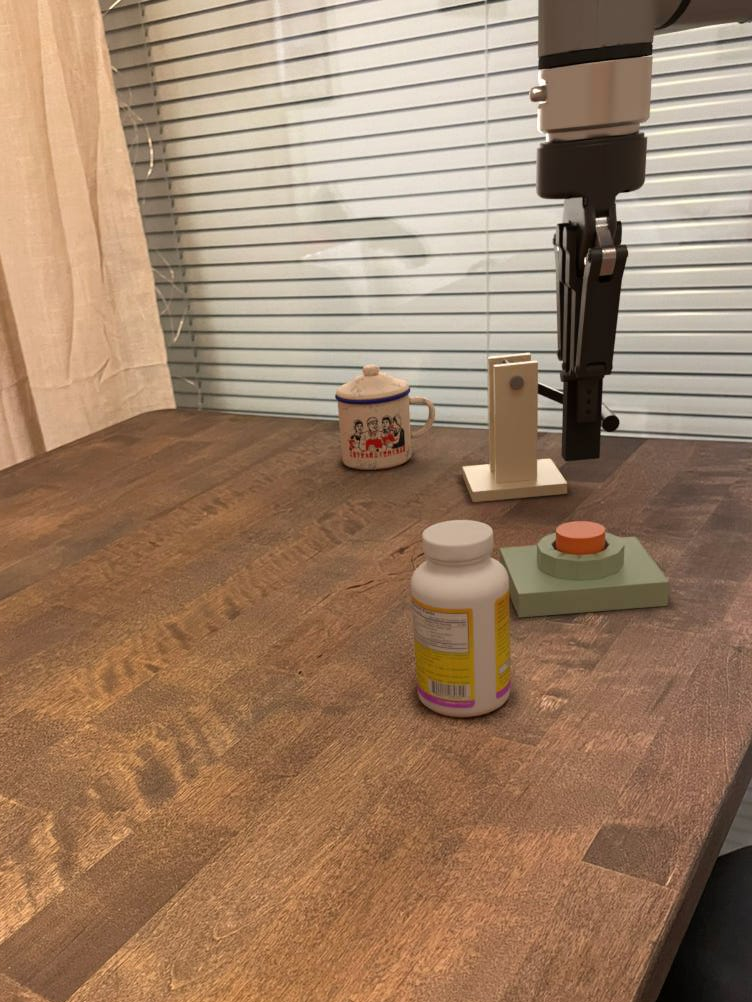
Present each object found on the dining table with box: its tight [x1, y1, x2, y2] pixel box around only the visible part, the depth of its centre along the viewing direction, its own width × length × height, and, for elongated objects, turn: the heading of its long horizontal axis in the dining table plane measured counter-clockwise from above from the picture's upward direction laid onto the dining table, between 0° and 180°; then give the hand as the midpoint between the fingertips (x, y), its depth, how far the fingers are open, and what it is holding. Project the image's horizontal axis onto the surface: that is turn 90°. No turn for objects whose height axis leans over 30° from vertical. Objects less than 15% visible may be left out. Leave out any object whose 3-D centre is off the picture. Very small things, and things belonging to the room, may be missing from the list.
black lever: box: [502, 359, 621, 433], centre depth 107 cm, size 13×6×2 cm, turn 87°
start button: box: [555, 520, 607, 555], centre depth 85 cm, size 4×4×2 cm
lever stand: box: [462, 352, 568, 503], centre depth 109 cm, size 10×9×14 cm
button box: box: [499, 531, 670, 619], centre depth 86 cm, size 12×10×4 cm
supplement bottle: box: [410, 519, 511, 718], centre depth 70 cm, size 7×7×13 cm
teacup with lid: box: [334, 364, 436, 471], centre depth 123 cm, size 12×9×12 cm
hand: (580, 457), depth 81 cm, fingers closed
